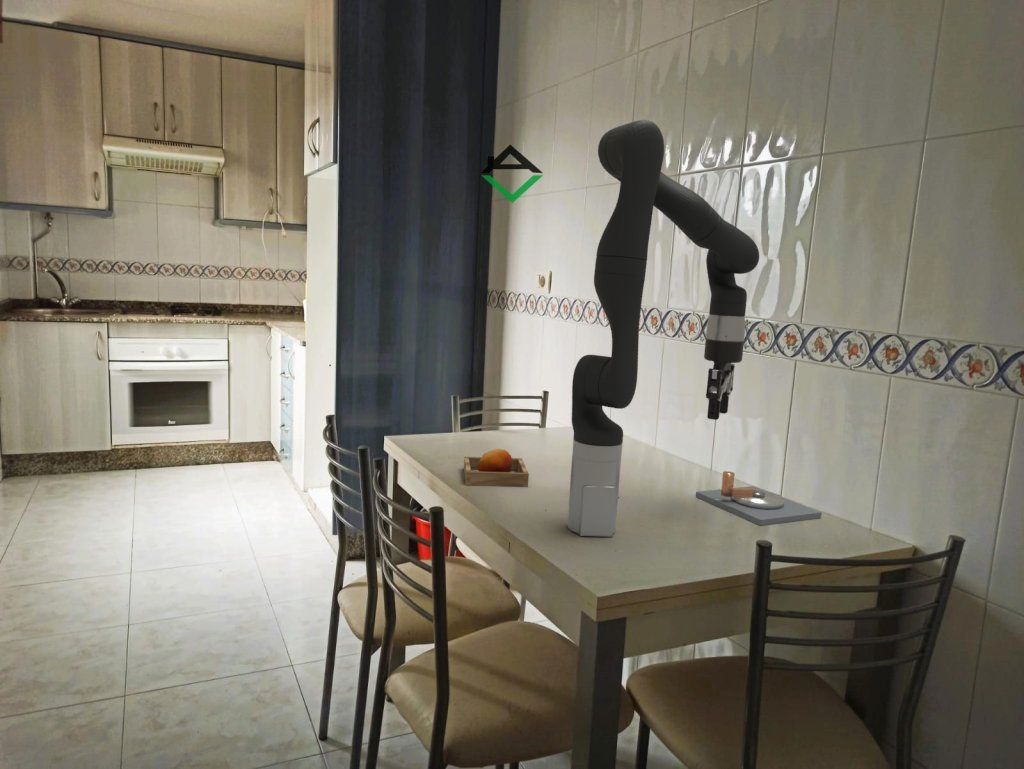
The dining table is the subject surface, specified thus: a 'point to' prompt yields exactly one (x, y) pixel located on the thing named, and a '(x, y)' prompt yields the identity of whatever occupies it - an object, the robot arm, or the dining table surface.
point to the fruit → (495, 461)
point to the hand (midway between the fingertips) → (717, 415)
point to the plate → (760, 516)
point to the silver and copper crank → (749, 495)
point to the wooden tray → (495, 474)
